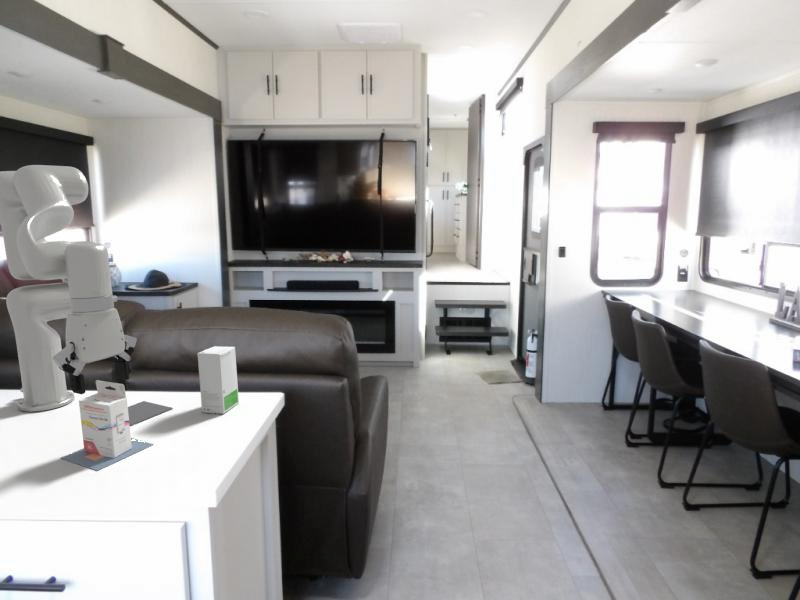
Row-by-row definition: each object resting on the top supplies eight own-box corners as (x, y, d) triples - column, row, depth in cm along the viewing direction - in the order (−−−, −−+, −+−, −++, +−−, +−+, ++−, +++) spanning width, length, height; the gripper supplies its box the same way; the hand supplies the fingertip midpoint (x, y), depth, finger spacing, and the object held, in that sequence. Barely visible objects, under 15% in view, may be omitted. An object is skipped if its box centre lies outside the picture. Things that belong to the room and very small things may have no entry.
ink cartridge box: (82, 453, 112) (75, 386, 110) (102, 443, 117) (95, 379, 114) (114, 459, 110) (106, 391, 107) (133, 448, 114) (126, 383, 112)
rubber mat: (101, 418, 131) (101, 416, 131) (143, 402, 142) (143, 401, 142) (131, 426, 126) (130, 424, 126) (172, 408, 137) (172, 407, 137)
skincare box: (223, 415, 133) (219, 354, 130) (199, 413, 134) (195, 353, 131) (240, 402, 141) (236, 346, 138) (217, 401, 142) (213, 344, 139)
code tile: (60, 458, 110) (60, 457, 110) (117, 434, 122) (117, 433, 122) (97, 470, 105) (97, 470, 105) (153, 444, 116) (153, 444, 116)
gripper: (119, 297, 117) (127, 372, 120) (36, 310, 102) (48, 396, 105) (142, 299, 114) (150, 376, 116) (60, 313, 98) (71, 401, 101)
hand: (101, 385), depth 110 cm, fingers open, 9 cm apart
